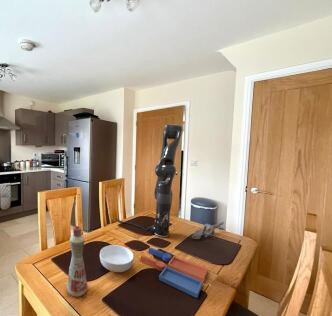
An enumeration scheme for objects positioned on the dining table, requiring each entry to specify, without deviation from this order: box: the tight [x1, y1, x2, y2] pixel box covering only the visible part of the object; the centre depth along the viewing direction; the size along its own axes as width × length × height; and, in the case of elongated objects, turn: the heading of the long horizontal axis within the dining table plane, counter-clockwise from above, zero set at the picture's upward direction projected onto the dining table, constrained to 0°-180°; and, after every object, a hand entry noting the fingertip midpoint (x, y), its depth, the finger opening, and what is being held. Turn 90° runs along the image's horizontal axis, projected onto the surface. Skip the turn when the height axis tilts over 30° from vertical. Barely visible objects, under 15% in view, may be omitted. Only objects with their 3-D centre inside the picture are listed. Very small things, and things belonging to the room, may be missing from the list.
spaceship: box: [191, 221, 225, 240], centre depth 136 cm, size 8×35×8 cm
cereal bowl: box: [99, 244, 135, 273], centre depth 99 cm, size 17×17×7 cm
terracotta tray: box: [167, 255, 209, 283], centre depth 98 cm, size 16×9×2 cm, turn 50°
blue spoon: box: [148, 246, 173, 263], centre depth 109 cm, size 12×5×3 cm, turn 50°
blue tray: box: [158, 266, 203, 299], centre depth 89 cm, size 16×9×2 cm, turn 50°
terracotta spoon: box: [140, 254, 166, 272], centre depth 101 cm, size 12×5×3 cm, turn 50°
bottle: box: [66, 225, 88, 298], centre depth 82 cm, size 9×9×28 cm
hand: (162, 229), depth 107 cm, fingers open, 8 cm apart
